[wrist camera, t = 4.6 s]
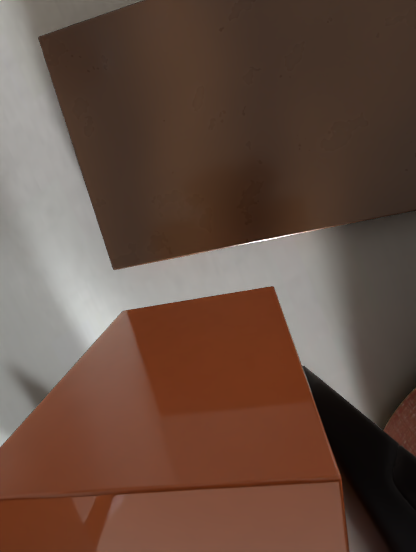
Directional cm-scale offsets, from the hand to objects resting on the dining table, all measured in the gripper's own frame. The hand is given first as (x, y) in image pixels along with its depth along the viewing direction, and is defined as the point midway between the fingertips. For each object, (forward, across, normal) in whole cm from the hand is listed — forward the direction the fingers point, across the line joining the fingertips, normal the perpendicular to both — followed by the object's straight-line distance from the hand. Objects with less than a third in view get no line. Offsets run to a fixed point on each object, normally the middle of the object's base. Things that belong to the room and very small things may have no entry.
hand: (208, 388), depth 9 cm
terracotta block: (+1, 0, 0) cm, 1 cm away
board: (+12, -3, -9) cm, 15 cm away
